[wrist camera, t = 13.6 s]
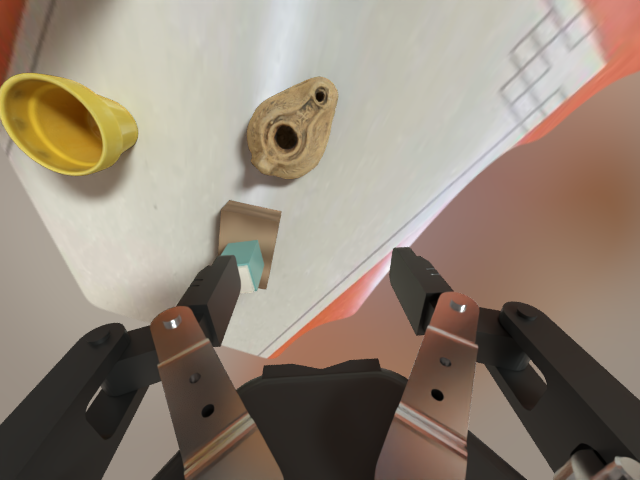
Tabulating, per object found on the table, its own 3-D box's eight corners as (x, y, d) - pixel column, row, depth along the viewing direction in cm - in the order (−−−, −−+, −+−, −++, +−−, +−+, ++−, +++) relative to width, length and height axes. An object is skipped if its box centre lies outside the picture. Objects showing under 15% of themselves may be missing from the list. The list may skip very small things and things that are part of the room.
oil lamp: (351, 100, 35) (362, 97, 28) (301, 187, 41) (300, 203, 34) (284, 51, 32) (278, 34, 25) (240, 152, 38) (225, 162, 31)
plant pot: (166, 125, 36) (121, 129, 27) (132, 175, 39) (83, 193, 30) (92, 63, 32) (13, 45, 23) (62, 125, 35) (-19, 129, 26)
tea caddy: (227, 243, 40) (212, 269, 33) (257, 239, 40) (248, 265, 33) (236, 268, 42) (222, 297, 36) (264, 264, 42) (256, 293, 36)
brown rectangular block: (230, 199, 42) (221, 209, 37) (281, 210, 43) (279, 221, 39) (224, 265, 48) (215, 281, 43) (269, 273, 49) (266, 289, 45)
